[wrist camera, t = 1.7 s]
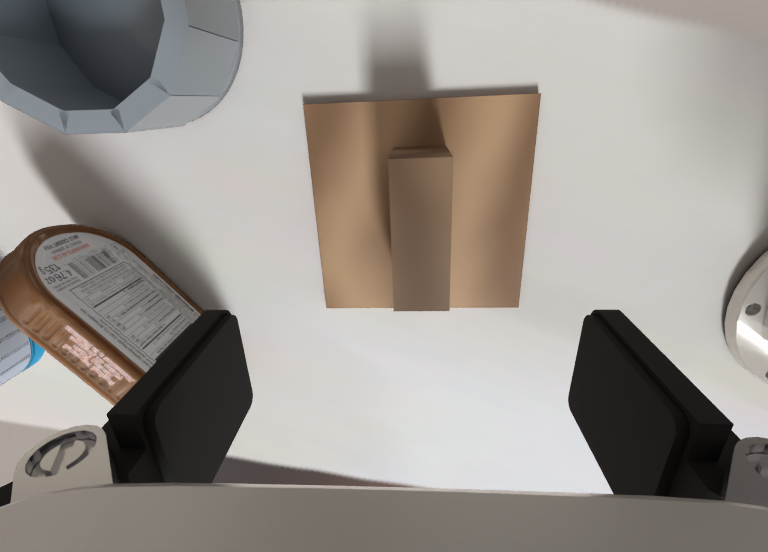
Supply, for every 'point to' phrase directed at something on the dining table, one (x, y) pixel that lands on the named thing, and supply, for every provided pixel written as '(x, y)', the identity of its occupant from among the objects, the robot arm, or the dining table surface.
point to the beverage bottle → (15, 350)
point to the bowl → (118, 61)
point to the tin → (93, 305)
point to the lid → (423, 200)
